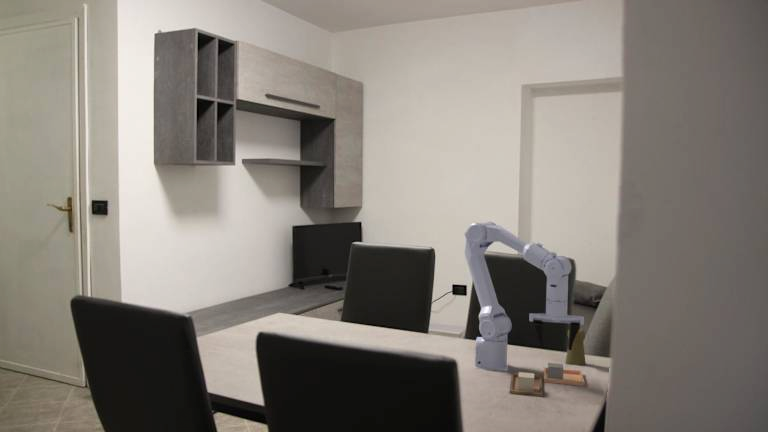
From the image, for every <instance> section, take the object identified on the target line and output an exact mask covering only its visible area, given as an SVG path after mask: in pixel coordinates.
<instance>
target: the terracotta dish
mask: <svg viewBox="0 0 768 432" xmlns="http://www.w3.org/2000/svg"><path fill="white" fill-rule="evenodd" d="M542 369H543V383H551V384H562V385H571V386H579V387H585V379H584V375H583V372H582V370H579V369H578V370H577V369H567V368H566V369H565V368H563V379H553V378H548V366H547V367H544V366H543V368H542Z"/></svg>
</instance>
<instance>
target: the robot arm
mask: <svg viewBox="0 0 768 432" xmlns="http://www.w3.org/2000/svg"><path fill="white" fill-rule="evenodd" d="M464 236H465V248H464V255H465V258H466V262H467V266H468V268H469V272H470V276H471V278H472V282H473V287H474V289H475V293H476V296H477V299H478V303H479V305H480V312H479V314H478V320H479V325H478V329H479V332H480V335H481V336H476V340H475V355H474V362H475V363H474V368H475V369H480V370H490V371H500V372H501V371H502V372H508V371H509V363H508V335H509V333H510V332H511V330H512V327H513V326H512V321H511V319H510V317H508V315H507V314H506V311H505V309H504V308H503V306H502V305H500V304H499V301H498V297H497V293H496V291H495V288H494V287H495V286H494V284H493V281H492V278H491V274H490V271H489V268H488V265H487V262H486V258H485V253H486V251H487V250H488V248H489V247H490V246H491V245H492V244H494V243H495V242H499V243H501V244H503V245H504V246H507V247H509V248H511V249H513V250H515V251H516V252H518V253H520V254H522V257H523V260H524V261H526V262H527V263H529V264H531V265H532V266H534V267H536V268H538V269H539V270H541V271H543V273H544V274H545V276H546V292H545V293H546V295H545V296H546V297H545V313H533V312H532V313H529V316H528V318H529V322H531V323H532V322H533V326H534V328H535V331H536V334H537V337H538V341H539V348H540V349H543V347H544V343H543V340H544V339H543V330H544V325H543V322H544V323H557V324H568V331H569V338H568V341H567V350H568V349H569V350H572V345H573V342H574V339H575V337H576V335H577V333H578V331H579V329H581V326H584V325H585V317H584V316H578V315H570V314H568V300H569V299H568V298H569V297H568V296H569V295H568V294H569V293H568V292H569V274H570V273H571V272H572V269H573V268H572V266H573V265H572V263H571V261H570V260H569V259H568V258H567V257H566V256H564V255H559V256H558V254H557V253H556V252H555V251H550V250H548V249H547V248H545V247H543V244H542V243H540V242H537V243H536V242H532V243H527V242H525V241H524V240H523V239H521V238H520V237H518V236H516V235H514V233H512V232H511V231H509V230H507V229H506V228H504V227H503V226H502V225H499V224H496V223H494V222H493V221H488V222H473V223H471V224H470V225H469V226H468V227H467V229H466V231H465V232H464Z"/></svg>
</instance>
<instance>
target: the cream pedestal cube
mask: <svg viewBox="0 0 768 432" xmlns="http://www.w3.org/2000/svg"><path fill="white" fill-rule="evenodd" d="M518 374H519V375H518V391H526V392H534V375H535V373H532V372H522V371H519V372H518Z"/></svg>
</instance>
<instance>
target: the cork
mask: <svg viewBox="0 0 768 432" xmlns="http://www.w3.org/2000/svg"><path fill="white" fill-rule="evenodd" d="M567 338H568V339H569V330H567ZM585 339H586V332H585V330H583V329H582V328H580V329H579V331H578V333H577V335H576V337H575V339H574V342H573V345H572V350H569V349H568V348H567V351H566V357H565V365H568V366H569V365H570V366H578V367H579V366H580V367H582V366H583V367H586V365H587V364H586V356H585V355H586V354H585V344H584V340H585Z"/></svg>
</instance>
